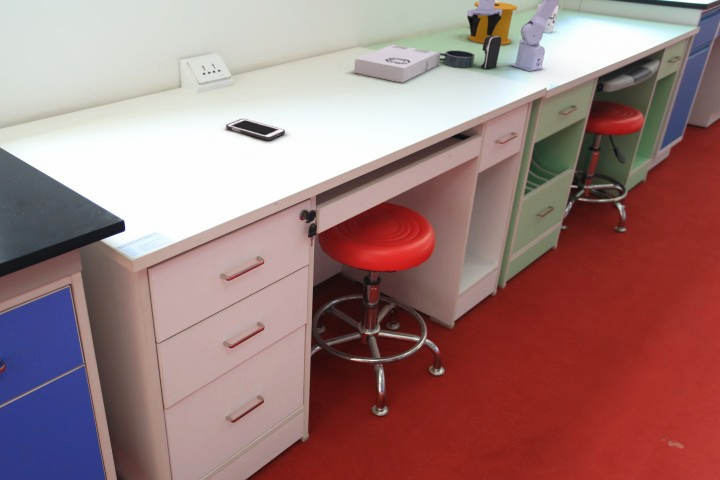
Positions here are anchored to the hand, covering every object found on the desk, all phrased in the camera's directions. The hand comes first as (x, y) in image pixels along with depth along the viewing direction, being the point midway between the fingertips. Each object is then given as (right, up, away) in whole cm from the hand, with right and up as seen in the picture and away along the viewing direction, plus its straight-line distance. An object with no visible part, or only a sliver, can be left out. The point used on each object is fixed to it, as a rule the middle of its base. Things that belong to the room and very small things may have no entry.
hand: (481, 35), depth 254 cm
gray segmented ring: (-9, -10, +3) cm, 14 cm away
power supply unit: (-32, -15, -8) cm, 37 cm away
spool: (+14, +13, +44) cm, 48 cm away
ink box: (+46, +26, +69) cm, 87 cm away
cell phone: (-78, -51, -74) cm, 119 cm away
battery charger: (+3, -12, +1) cm, 12 cm away
